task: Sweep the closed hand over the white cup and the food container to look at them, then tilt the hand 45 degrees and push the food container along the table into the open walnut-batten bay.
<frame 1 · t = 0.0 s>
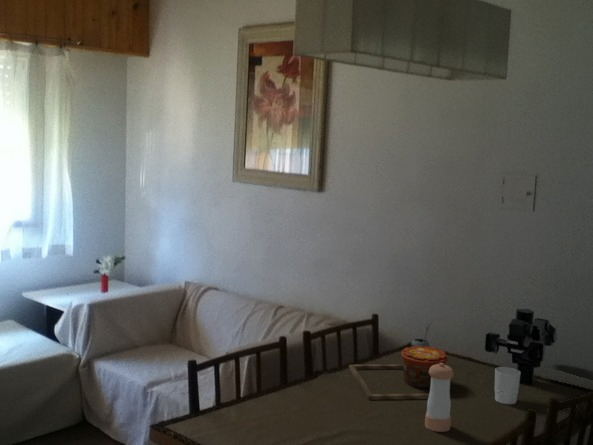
hand: (506, 353, 222), 17 cm above the table, tool horizontal, fingers open, 9 cm apart
mate gourd: (419, 361, 263), on the table
food container: (422, 383, 240), on the table
white cup: (505, 401, 226), on the table
pepper shaker: (437, 427, 204), on the table
bay: (396, 382, 239), on the table
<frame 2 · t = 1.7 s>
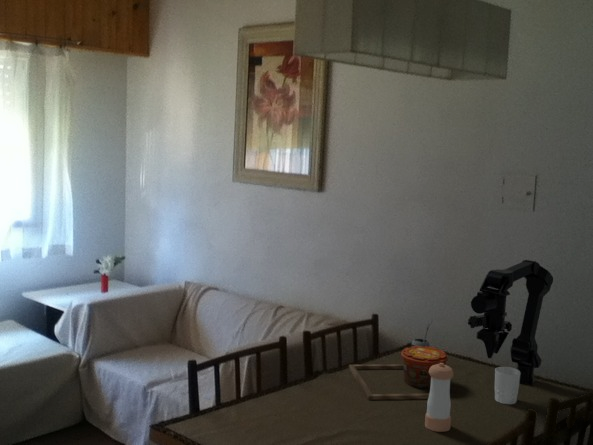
hand: (492, 355, 230), 13 cm above the table, tool pointing down, fingers open, 6 cm apart
nothing on the table moved.
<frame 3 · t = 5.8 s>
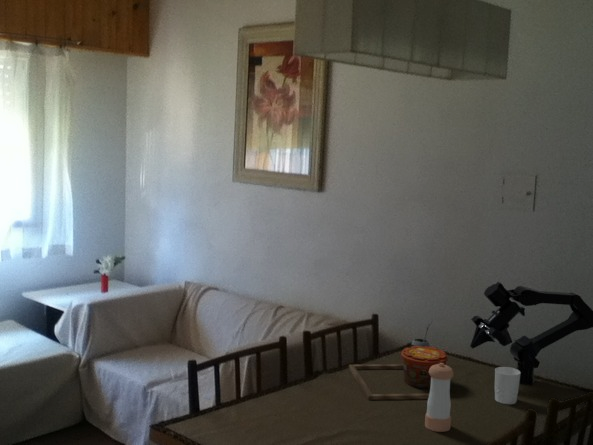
hand: (471, 347, 241), 12 cm above the table, tool tilted 45°, fingers closed
nothing on the table moved.
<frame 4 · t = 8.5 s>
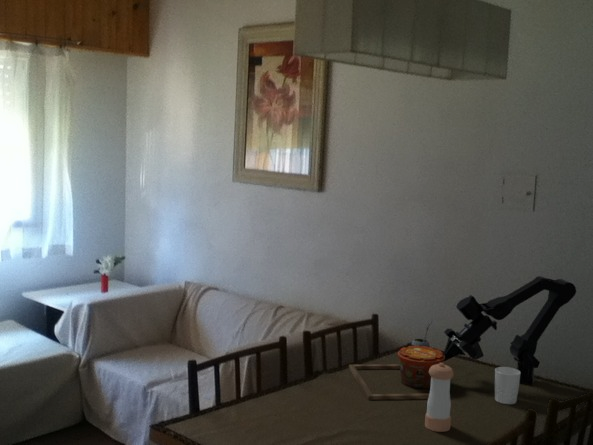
hand: (442, 360, 240), 8 cm above the table, tool tilted 45°, fingers closed
food container: (419, 382, 240), on the table, touching gripper
everything else where it was.
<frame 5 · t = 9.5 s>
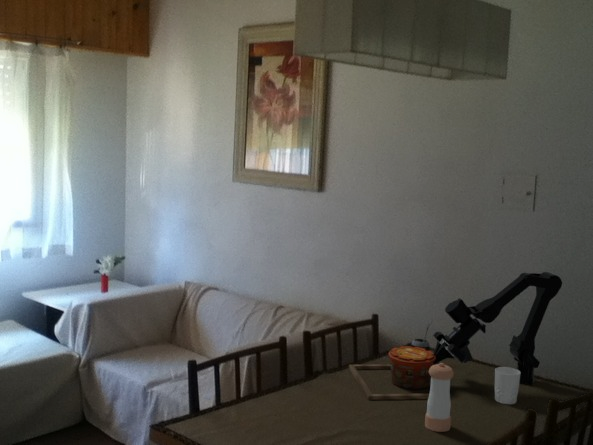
hand: (431, 363, 240), 7 cm above the table, tool tilted 45°, fingers closed
food container: (410, 383, 239), on the table, touching gripper
everything else where it was.
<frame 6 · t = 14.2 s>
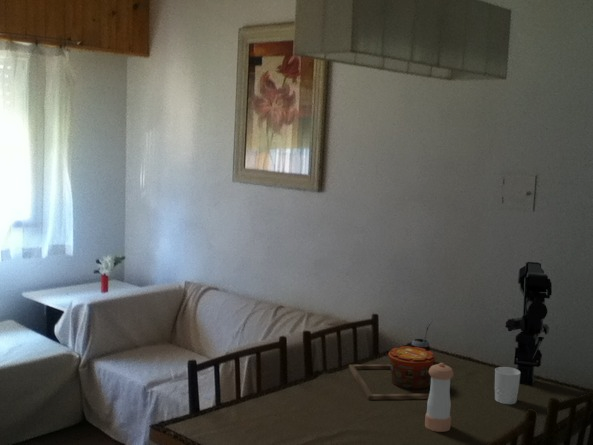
hand: (530, 358, 228), 13 cm above the table, tool pointing down, fingers closed
food container: (410, 383, 239), on the table
everything else where it was.
at the end: food container inside the target area (5.4 cm from its centre), on the table; food container moved 4.6 cm from its start; food container tilted 0° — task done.
